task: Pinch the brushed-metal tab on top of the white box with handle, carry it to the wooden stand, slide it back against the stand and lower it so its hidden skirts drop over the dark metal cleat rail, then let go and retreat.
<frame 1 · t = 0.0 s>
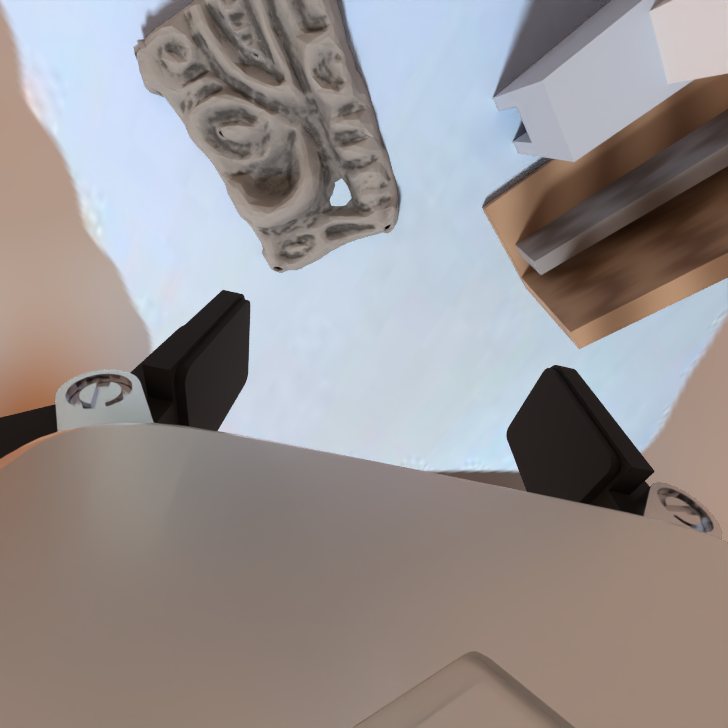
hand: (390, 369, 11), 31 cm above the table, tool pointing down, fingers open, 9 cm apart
wooden stand: (611, 187, 35), on the table
wall plaque: (283, 144, 35), on the table
white box with handle: (582, 66, 30), on the table
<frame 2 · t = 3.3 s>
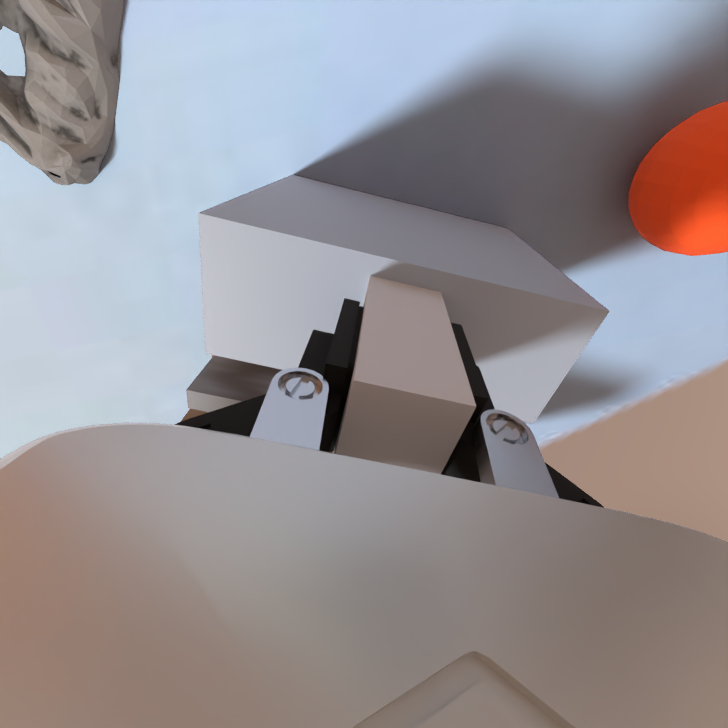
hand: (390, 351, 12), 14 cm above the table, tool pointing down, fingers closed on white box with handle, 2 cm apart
wooden stand: (347, 370, 29), on the table
clementine: (667, 184, 21), on the table
white box with handle: (391, 244, 23), on the table, touching gripper
when the fingers open (15 cm above the table, at t = 9.7 s): white box with handle stays where it is, resting on wooden stand.
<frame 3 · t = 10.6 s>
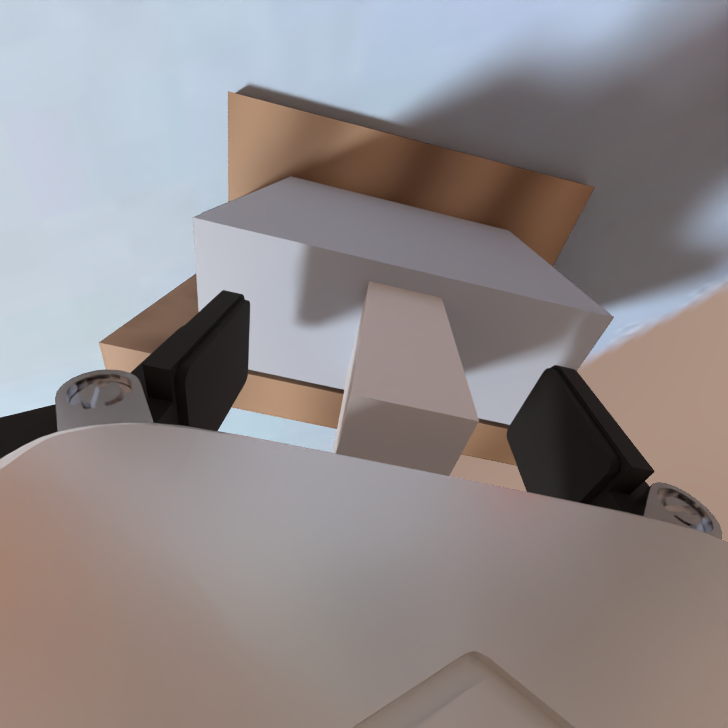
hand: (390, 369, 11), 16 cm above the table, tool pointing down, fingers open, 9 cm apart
wooden stand: (391, 240, 24), on the table
white box with handle: (391, 247, 23), point 1 cm above the table, touching wooden stand
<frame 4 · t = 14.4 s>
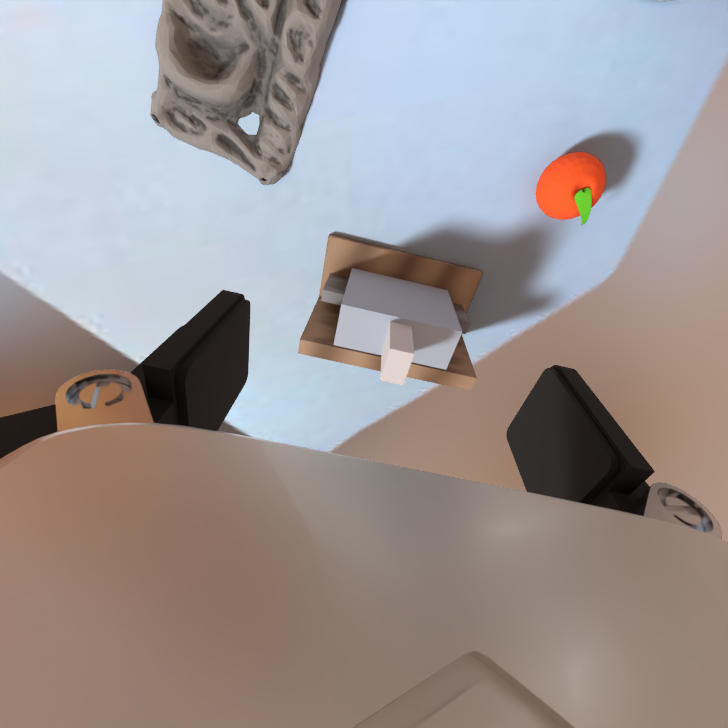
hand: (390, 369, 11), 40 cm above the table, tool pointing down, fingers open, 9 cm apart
wooden stand: (395, 292, 52), on the table
wall plaque: (236, 44, 38), on the table
clementine: (557, 187, 43), on the table
white box with handle: (395, 296, 51), point 1 cm above the table, touching wooden stand
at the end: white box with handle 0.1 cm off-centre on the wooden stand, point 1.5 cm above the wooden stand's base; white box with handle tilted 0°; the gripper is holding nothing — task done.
